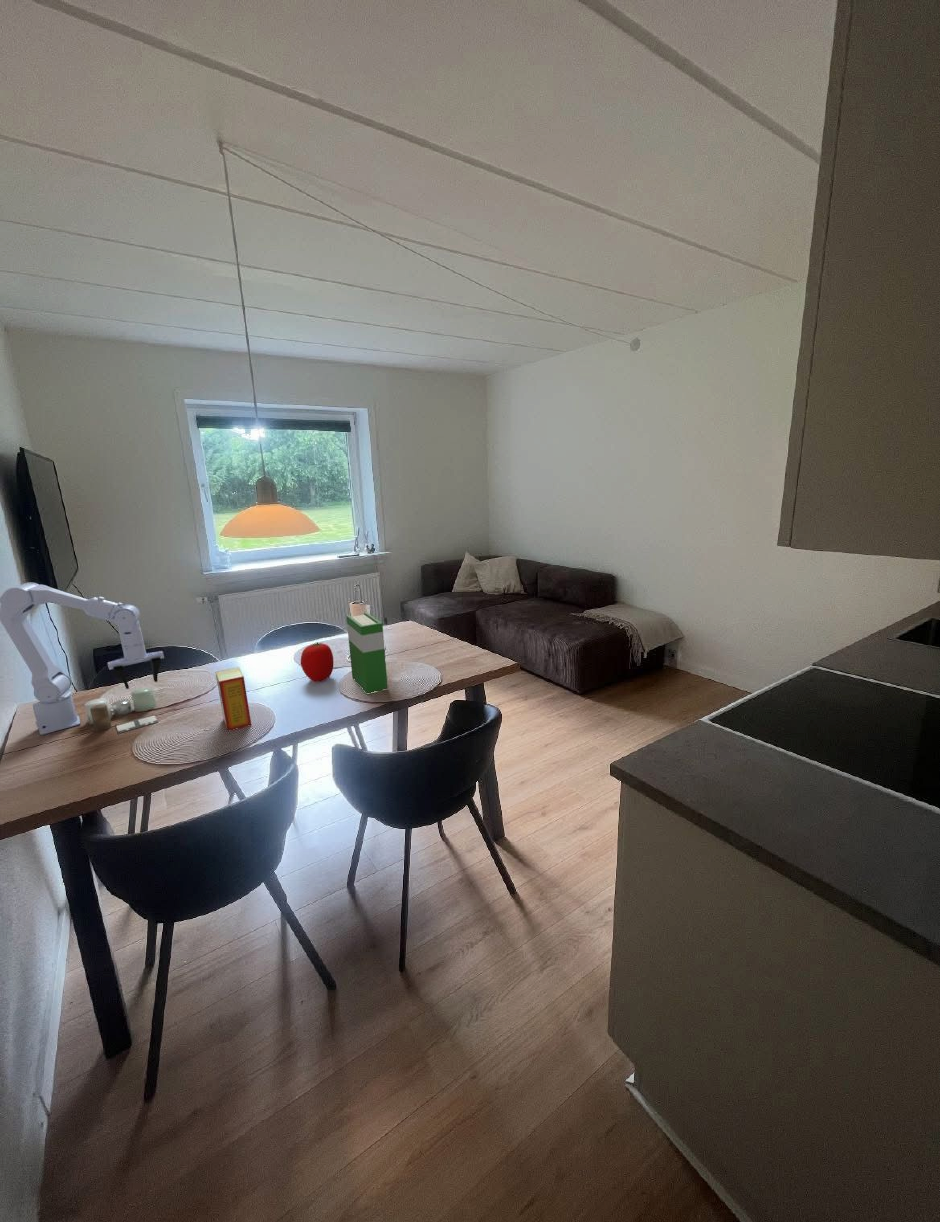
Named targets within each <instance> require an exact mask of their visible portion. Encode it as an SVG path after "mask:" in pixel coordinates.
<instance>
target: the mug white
mask: <svg viewBox="0 0 940 1222" xmlns="http://www.w3.org/2000/svg"><path fill="white" fill-rule="evenodd" d="M101 704H106V705H107V709H108V713H109V717H110V720H112V719H113V714H112V709H111V705H110V701H109V698H107V697H106V698H105V697H101V698H95V699H92V700H89V701H87V702H85V704H84V709H85V712H86V718H87V720H88V724H90V725H94V723H93V719H92V715H91V711H90V708H92V707H94V706H96V705H101Z"/></svg>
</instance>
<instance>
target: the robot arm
mask: <svg viewBox="0 0 940 1222" xmlns="http://www.w3.org/2000/svg"><path fill="white" fill-rule="evenodd" d="M49 603H50V604H51V603H52V604H55V605H56V604H57V605H60V606H66V607H69V608H74V609H78V610H82V611H83V612H84V613H85V614H86V615H87V616H89V617H93V618H96V619H100V620H104V621H108V622H113V623H114V625H116V627H117V629H118V633H119V634H118V635H119V638H120V642H121V643H120V644H121V648H122V653H123V657H122V658H119V659H115V660H112V661H108V662H107V667H108V670H113V671H114V672H115V674H117V676H118V677H119V678H120V679H121V681H122V682H123V685H124V686H125V689H126V690H128V689H130V686H129V683H128V680H127V676H126V670H125V666H130V665H134V664H135V665H136V664H139V663H140V664H141V663H143V662H150V666H151V669H152V670H151V671H152V678H153V682H155V683H157V682H158V676H159V675H158V674H159V670H160V666H161V664H162V659H165V655H164V651H162V650H161V651H160V650H159V651H153V652H147V651H146V645H145V641H144V637H143V636H144V635H143V632H142V628H141V624H140V620H139V618H140V616H141V611H140V609H139V607H137V606H135V605H133V604H130V603H126V604H124V603H123V602H120V601H119V602H114V601H110V600H106V598H105V597H104V596H98V597H96V596H95V597H91V598H89V599H88V598H85V597H81V596H79V595H76V594H72V593H68V592H66V591H64V590H63V591H62V590H59V589H57V588H53V587H51V586H48V585H46V584H38V583H36V582H33V581H32V582H29V581H28V582H24V583H21V584H20V585H18V586H15V587H10V588H7V589H6V590H5V591H4V592H3V593H2V595H1V596H0V623H1V625H2V626H3V627H4V629H5V631H6V632H7V635H8V636H9V637H10V639H11V641H12V643H13V644H14V646H15V648H16V649H17V651H18V652H19V655H20V656H21V657H22V660H23V661H24V662H25V664H26V666H27V667H28V669H29V671H30V672H31V675H32V676H31V685H32V687H33V696H34V697H35V699H36V700H37V701H38V702H35V703H32V709H33V713H34V717H35V724H36V728H38V731H39V735H41V736H43V735H46V734H50V733H53V732H57V731H61V730H64V729H68V728H72V727H75V726H79V725H81V720H80V715H79V714H77V712H76V708H75V703H74V699H73V696H72V692H71V691H70V688H71V687H72V684H73V680H72V678H71V677H70V676H69V675H68V674H67V673H65V672H64V670H62V668H61V667H60V666H57V665H55V664H54V662H53V661H52V658H50V656H49V654H48V652H47V650H46V649H45V647H44V645H43V644H42V642H41V640H40V639H39V636H38V635H37V634H36V631H35V630H34V628H33V626H32V625H31V623H30V621H29V619H28V616H29V614H30V613H31V611H32V610H33V608H34V607H36V606H39V605H44V604H49Z"/></svg>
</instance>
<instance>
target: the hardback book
mask: <svg viewBox="0 0 940 1222" xmlns="http://www.w3.org/2000/svg"><path fill="white" fill-rule="evenodd" d="M345 619H346V626H347V636H348V637H347V638H348V645H349V646H348V647H349V658H350V667H351V668H350V669H351V677H352V679H353V680H354V679H355V680H354V681H355V683H356V682H357V683H358V684H359V685H360V686H361V687H362V688H363V690H364V691H365V692H366V693H371V692H374V691H381V690H383V689H387V688H389V686H388V685H389V684H388V676H387V664H386V663H387V661H386V652H385V649H386V648H385V640H384V639H385V637H384V624H383V622H381V621H380V620H378V619H377V618H376V617H374V616H372V615H371V614H370V613H368V612H367V611H365V612H363V614H361V615H355V616H351V615H350V614H346V617H345ZM357 683H356V684H357ZM358 684H357V685H358ZM359 685H358V686H359ZM360 686H359V687H360ZM361 687H360V688H361ZM362 688H361V689H362ZM363 690H362V691H363ZM364 691H363V692H364ZM365 692H364V693H365ZM381 692H382V691H381ZM366 693H365V694H366Z"/></svg>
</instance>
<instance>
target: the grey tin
mask: <svg viewBox="0 0 940 1222" xmlns="http://www.w3.org/2000/svg"><path fill="white" fill-rule="evenodd" d="M111 706H112V707H111V708H112V710H113V711H112V712H113V714H114V716H116V717H122V716H126V715H129V714H130V713H132V712H133V708H132V704H131V699H121V700H118V701H115V702H113V703H112V704H111Z"/></svg>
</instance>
